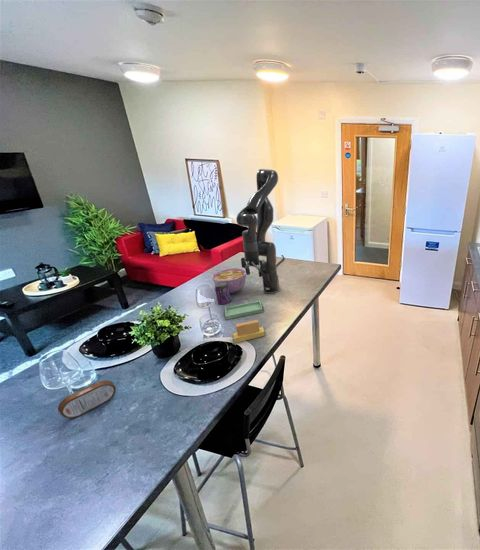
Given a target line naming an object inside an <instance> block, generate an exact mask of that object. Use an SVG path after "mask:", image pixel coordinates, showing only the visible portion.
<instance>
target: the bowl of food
mask: <svg viewBox="0 0 480 550" xmlns="http://www.w3.org/2000/svg"><path fill="white" fill-rule="evenodd" d="M246 277H247V274H246V270H245V268H241V267H229V268H224V269H221V270H218V271H216V272H214V273H213V274H212V275H211V279H212V282H213V283H214V285H215V284H216V283H219V282H226V284H227V285H228V289H229V294H234V293H237V292H239V291H240V290H242V289H243V288H244V287H245V284H246Z"/></svg>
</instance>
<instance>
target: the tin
mask: <svg viewBox="0 0 480 550" xmlns="http://www.w3.org/2000/svg"><path fill="white" fill-rule="evenodd" d="M116 392H117V388H116V385H115V383H113V382H112V381H111V380H108V379H107V380H100V381H97V382H94V383H93V384H90V385H88V386H86V387H84V388H81V389H80V390H78V391H76V392H73V393H71V394H68V395H66V397H64V398H63V399H62V400H61V401H60V402H59V404H58V406H57V411H58V413H59V414H60V416H62V417H63V418H66V419H72V418H73V419H75V418H77V417H80V416H82V415H84V414H86V413H87V412H90V411H91V410H94V409H95V408H97V407H99V406H101V405H103V404H105V403H107V402H109V401H110V400H111V399H112V398H113V397H114V396H115V394H116Z"/></svg>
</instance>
